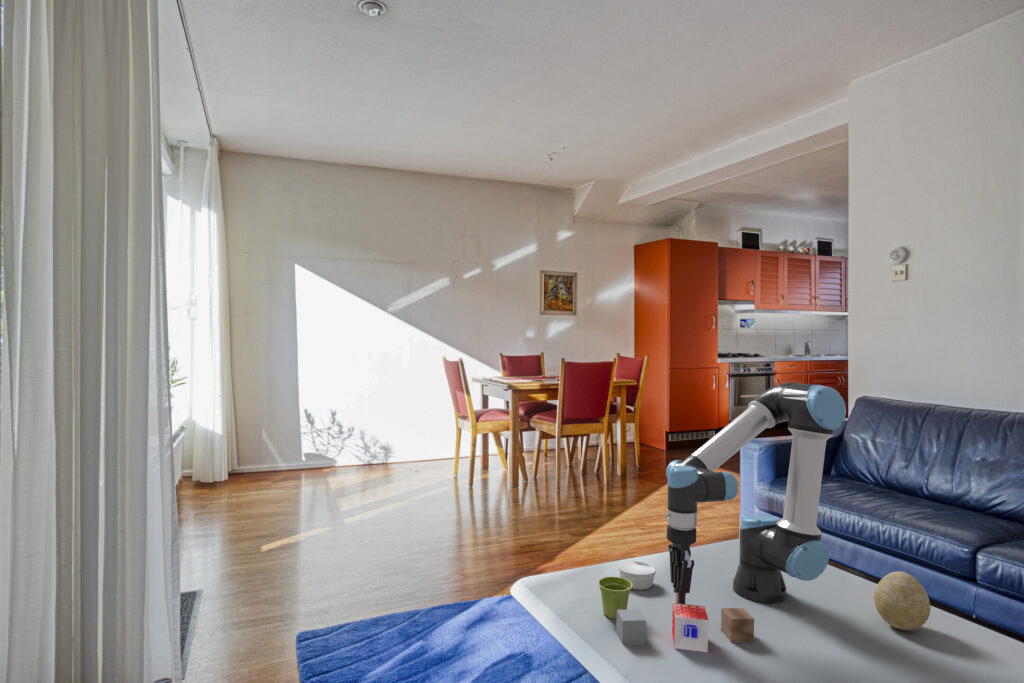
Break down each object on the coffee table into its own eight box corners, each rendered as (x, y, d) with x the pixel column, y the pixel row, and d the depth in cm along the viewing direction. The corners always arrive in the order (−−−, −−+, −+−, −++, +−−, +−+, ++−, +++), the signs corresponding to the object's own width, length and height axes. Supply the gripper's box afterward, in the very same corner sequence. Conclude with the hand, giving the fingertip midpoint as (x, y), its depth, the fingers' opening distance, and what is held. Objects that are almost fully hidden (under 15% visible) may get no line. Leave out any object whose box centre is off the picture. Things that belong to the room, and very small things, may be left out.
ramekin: (660, 582, 188) (660, 565, 188) (648, 595, 179) (648, 577, 179) (626, 574, 194) (626, 558, 194) (613, 586, 185) (613, 569, 185)
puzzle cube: (703, 636, 154) (704, 606, 154) (707, 652, 146) (708, 620, 146) (671, 633, 156) (672, 602, 156) (674, 648, 148) (674, 616, 148)
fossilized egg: (880, 612, 170) (882, 559, 170) (934, 628, 161) (936, 573, 161) (867, 626, 161) (868, 571, 161) (923, 645, 152) (925, 586, 152)
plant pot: (631, 624, 160) (632, 592, 160) (596, 620, 162) (597, 588, 162) (631, 608, 169) (632, 578, 169) (598, 605, 171) (599, 575, 171)
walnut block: (742, 630, 158) (743, 608, 158) (753, 642, 152) (754, 618, 152) (720, 630, 158) (721, 608, 157) (730, 642, 152) (731, 619, 152)
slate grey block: (639, 632, 156) (639, 609, 156) (645, 644, 150) (646, 620, 150) (616, 632, 156) (616, 609, 155) (622, 644, 150) (622, 620, 149)
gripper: (659, 518, 163) (657, 604, 164) (676, 534, 150) (673, 627, 151) (686, 518, 164) (684, 603, 164) (705, 534, 151) (702, 627, 151)
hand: (679, 615), depth 157 cm, fingers closed
